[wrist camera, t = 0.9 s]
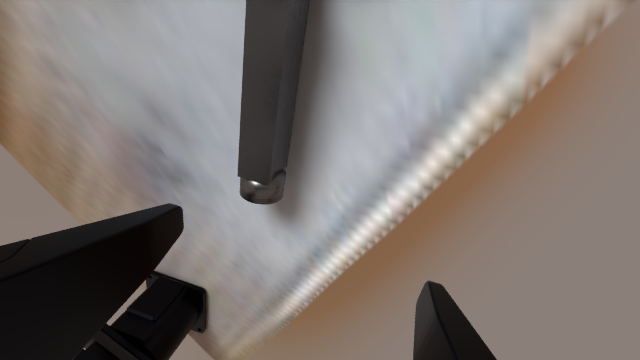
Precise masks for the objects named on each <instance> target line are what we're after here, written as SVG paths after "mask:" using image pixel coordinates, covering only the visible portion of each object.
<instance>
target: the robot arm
mask: <svg viewBox="0 0 640 360" xmlns="http://www.w3.org/2000/svg"><path fill="white" fill-rule="evenodd" d="M183 228H184V223H183V210H182V208H181V207H180V206H178V205H174V204H170V203H168V204H164V205H160V206H156V207H152V208H148V209H144V210H141V211H137V212H133V213H129V214H125V215H121V216H117V217H113V218H109V219H105V220H101V221H97V222H93V223H89V224H85V225H81V226H78V227H74V228H70V229H66V230H62V231H58V232H54V233H50V234H46V235H42V236H38V237H34V238H32V239H31V240H30V239H26V240H22V241H18V242H14V243H10V244H6V245H2V246H0V360H169V358H170V357H171V356H172V354H173V353H174V352H175V350H176V349H177V348H178V346H179V345H180V343H181V342H182V340H183V339H184V338H185V337H186V335H187V334H188V332H189V331H190V330H194V331H196V332H199V333H203V332H204V331H205V329H206V292H205V290H204V289H203V288H201V287H198V286H195V285H192V284H189V283H187V282H184V281H181V280H178V279H175V278H172V277H169V276H167V275H164V274H161V273H158V272H155V271H154V269H155V268H156V267H157V266H158V264H159V263H160V262H161V260H162V259H163V258H164V256H165V255H166V254H167V252H168V251H169V250H170V248H171V247H172V246H173V244H174V243H175V242H176V240H177V239H178V238H179V236H180V235H181V233H182V231H183ZM145 280H146V284H147V289H146V290H145V291H144V292H143V293H142V294H141V295H140V296H139V297H138V298H137V299H136V300H135V301H134V302H133V303H132V304H131V305H130V306H129V307H128V308H127V310H126V311H125V312H124V313H123V314H122V315H121V316H120V317H119V318H118V319H117V320H116V321H115V322H114V323H113V324H112V325H111V326H109V325H108V324H107V321H108V320H109V319H110V318H111V317H112V316H113V315H114V314H115V313H116V312H117V311H118V309H119V308H120V307H121V306H122V305H123V304H124V303H125V302H126V301H127V299H128V298H129V297H130V296H131V295H132V294H133V293H134V292H135V291H136V290H137V289H138V287H139V286H140V285H141V284H142V283H143V282H144V281H145ZM83 348H86V350H84V349H83ZM413 360H497V359H496V358H495V357H494V355H493V354H492V352H491V351H490V350H489V348H488V347H487V346H486V344H485V343H484V341H483V340H482V339H481V337H480V336H479V335H478V333H477V332H476V330H475V329H474V328H473V326H472V325H471V324H470V322H469V321H468V320H467V318H466V317H465V315H464V314H463V313H462V311H461V310H460V309H459V307H458V306H457V304H456V303H455V302H454V300H453V299H452V298H451V296H450V295H449V293H448V292H447V291H446V289H445V288H444V287H443V286H442V285H441V284H439V283H435V282H432V281H427V282H426V283H425V285H424V287H423V289H422V291H421V293H420V295H419V298H418V300H417V304H416V315H415V334H414V353H413Z"/></svg>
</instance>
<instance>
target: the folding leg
mask: <svg viewBox="0 0 640 360" xmlns="http://www.w3.org/2000/svg"><path fill="white" fill-rule="evenodd" d="M308 7H309V0H246V17H245V38H244V58H243V78H242V99H241V119H240V139H239V159H238V176H239V177H241V178H240V195H241V196H242V197H243V198H244V199H245V200H247V201H249V202H252V203H255V204H272V203H275V202H278V201H279V200H281V199H282V197H283V192H284V185H285V177H286V171H285V170H284V169H285V168H286V167H287V161H288V154H289V147H290V139H291V132H292V125H293V117H294V110H295V103H296V95H297V88H298V81H299V73H300V66H301V59H302V51H303V44H304V37H305V29H306V22H307V14H308Z"/></svg>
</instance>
